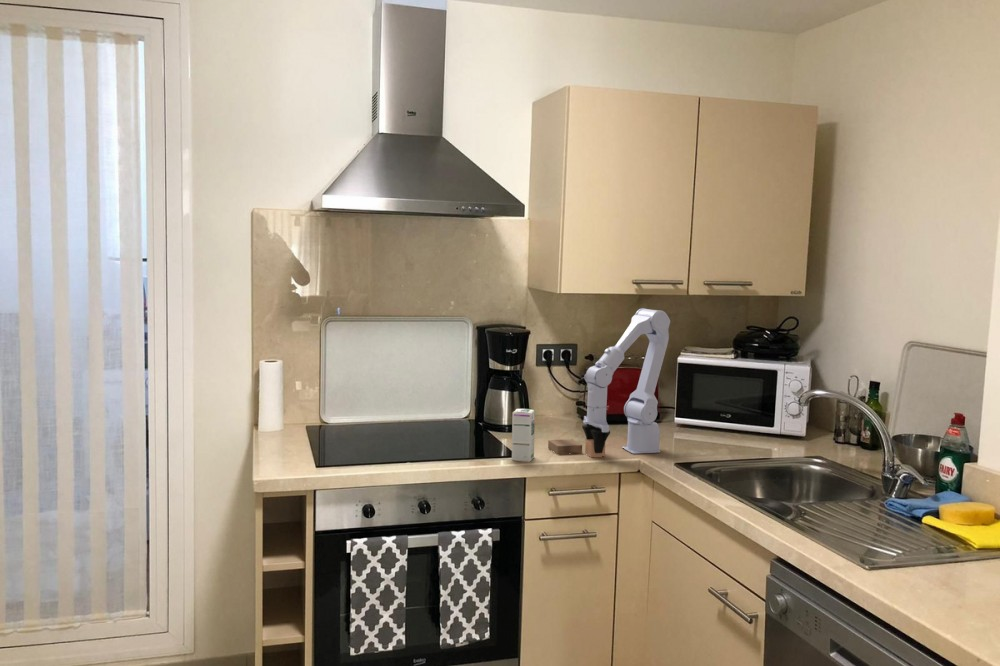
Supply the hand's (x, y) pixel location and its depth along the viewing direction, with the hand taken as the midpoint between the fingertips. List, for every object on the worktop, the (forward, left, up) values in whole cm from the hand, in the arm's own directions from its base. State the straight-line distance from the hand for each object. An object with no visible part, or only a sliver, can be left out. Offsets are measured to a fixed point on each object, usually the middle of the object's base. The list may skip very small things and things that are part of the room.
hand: (595, 450), depth 251 cm
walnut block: (+7, -7, -2) cm, 10 cm away
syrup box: (+23, 0, -2) cm, 23 cm away
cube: (0, 0, -1) cm, 1 cm away
